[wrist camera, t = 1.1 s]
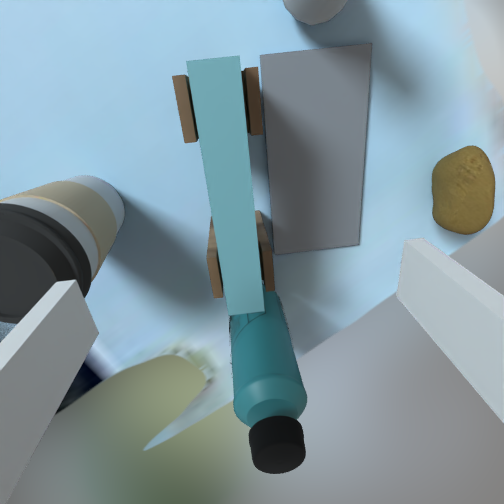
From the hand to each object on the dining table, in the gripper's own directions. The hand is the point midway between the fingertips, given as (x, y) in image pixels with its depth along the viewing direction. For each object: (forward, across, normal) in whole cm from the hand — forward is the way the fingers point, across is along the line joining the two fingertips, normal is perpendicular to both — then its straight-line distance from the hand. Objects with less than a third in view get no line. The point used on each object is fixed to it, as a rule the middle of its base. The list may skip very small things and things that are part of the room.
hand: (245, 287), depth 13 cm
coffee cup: (+22, -16, -2) cm, 27 cm away
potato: (+22, +22, -4) cm, 32 cm away
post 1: (+22, 0, +6) cm, 23 cm away
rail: (+14, 0, 0) cm, 14 cm away
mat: (+22, +8, 0) cm, 23 cm away
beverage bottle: (+22, 0, -16) cm, 27 cm away
